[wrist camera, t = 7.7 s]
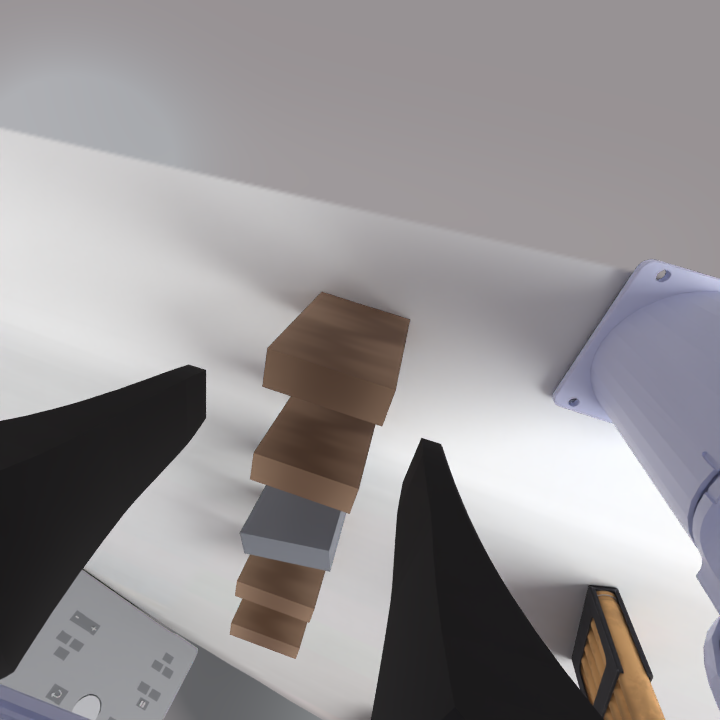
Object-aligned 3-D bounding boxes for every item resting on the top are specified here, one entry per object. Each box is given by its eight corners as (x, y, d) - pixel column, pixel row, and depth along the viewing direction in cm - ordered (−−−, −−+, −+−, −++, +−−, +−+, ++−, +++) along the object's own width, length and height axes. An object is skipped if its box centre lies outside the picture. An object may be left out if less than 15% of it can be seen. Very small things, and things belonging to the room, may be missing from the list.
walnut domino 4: (327, 552, 30) (299, 648, 24) (323, 563, 31) (295, 658, 25) (272, 533, 31) (231, 622, 25) (270, 544, 31) (229, 634, 25)
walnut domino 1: (410, 319, 19) (395, 390, 13) (399, 348, 20) (382, 426, 14) (321, 291, 19) (267, 348, 13) (315, 321, 20) (262, 386, 14)
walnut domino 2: (381, 400, 22) (358, 488, 16) (373, 422, 23) (349, 513, 17) (304, 375, 22) (253, 452, 16) (300, 397, 23) (250, 479, 17)
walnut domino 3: (342, 512, 27) (314, 609, 21) (337, 526, 28) (309, 622, 22) (281, 491, 28) (236, 581, 22) (278, 505, 29) (235, 595, 23)
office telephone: (36, 545, 41) (-258, 821, 24) (44, 539, 40) (-259, 824, 23) (189, 652, 47) (42, 935, 30) (200, 649, 46) (53, 942, 28)
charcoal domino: (356, 456, 24) (329, 551, 18) (356, 475, 25) (329, 571, 19) (288, 445, 25) (239, 532, 19) (290, 464, 26) (244, 553, 20)
